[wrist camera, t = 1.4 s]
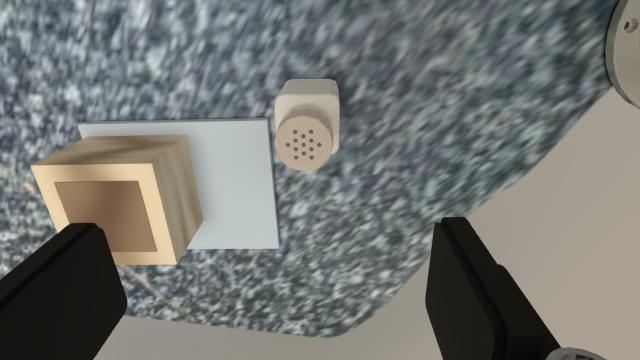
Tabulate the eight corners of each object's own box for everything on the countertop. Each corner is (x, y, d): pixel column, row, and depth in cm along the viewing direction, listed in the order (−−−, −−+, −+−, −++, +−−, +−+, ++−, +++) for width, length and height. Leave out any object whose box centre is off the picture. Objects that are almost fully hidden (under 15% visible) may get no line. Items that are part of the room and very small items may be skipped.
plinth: (186, 134, 28) (151, 164, 23) (203, 221, 32) (176, 265, 26) (87, 136, 28) (29, 166, 23) (114, 222, 32) (69, 266, 26)
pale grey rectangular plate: (268, 117, 28) (266, 120, 28) (280, 243, 33) (278, 248, 33) (84, 121, 29) (77, 124, 28) (123, 244, 34) (118, 249, 33)
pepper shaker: (287, 128, 29) (269, 178, 20) (284, 77, 27) (263, 107, 18) (337, 128, 28) (340, 178, 20) (337, 77, 27) (341, 107, 18)
